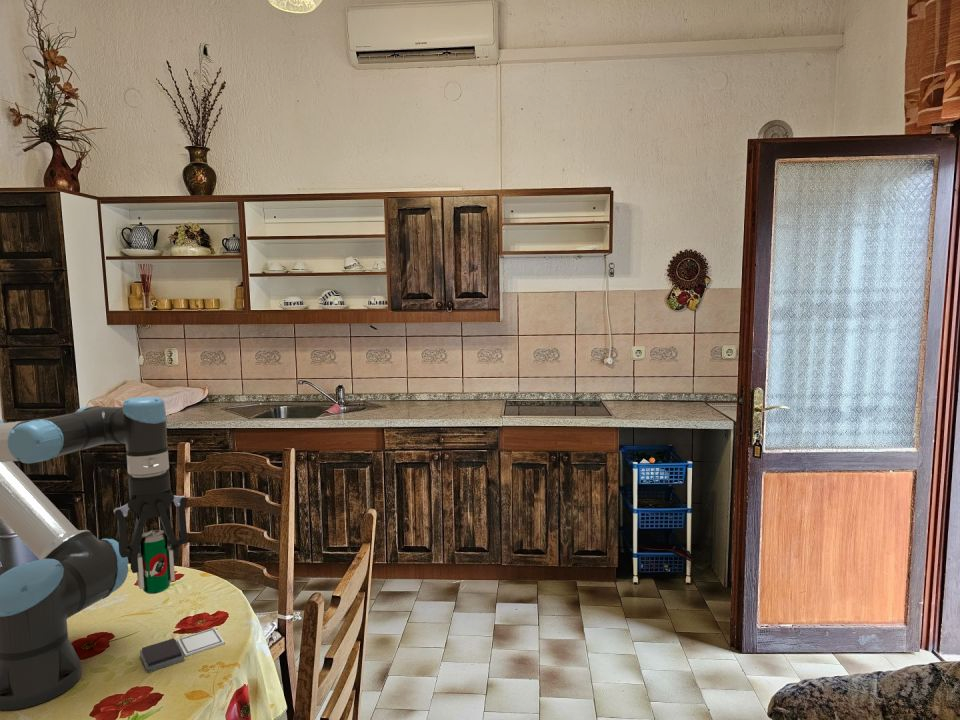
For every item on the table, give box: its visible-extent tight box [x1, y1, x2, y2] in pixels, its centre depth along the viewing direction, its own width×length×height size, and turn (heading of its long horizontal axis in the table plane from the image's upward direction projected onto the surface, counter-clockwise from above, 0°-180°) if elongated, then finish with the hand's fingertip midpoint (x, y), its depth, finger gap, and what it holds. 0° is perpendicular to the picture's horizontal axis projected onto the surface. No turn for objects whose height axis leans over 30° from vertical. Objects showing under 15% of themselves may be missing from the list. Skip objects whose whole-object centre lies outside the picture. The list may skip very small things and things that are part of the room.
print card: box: [176, 627, 226, 658], centre depth 138 cm, size 8×8×1 cm
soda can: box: [139, 529, 171, 595], centre depth 130 cm, size 5×5×12 cm
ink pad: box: [139, 637, 185, 674], centre depth 132 cm, size 7×8×2 cm
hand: (156, 582), depth 131 cm, fingers closed on soda can, 5 cm apart
